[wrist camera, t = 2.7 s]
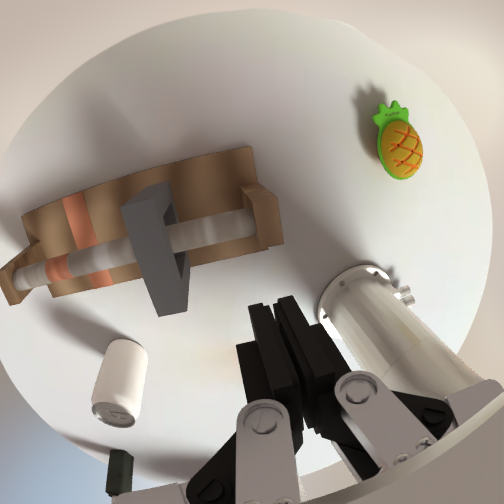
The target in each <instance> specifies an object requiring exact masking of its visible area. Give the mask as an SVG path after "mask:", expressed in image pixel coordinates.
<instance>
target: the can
mask: <svg viewBox="0 0 504 504" xmlns="http://www.w3.org/2000/svg"><path fill="white" fill-rule="evenodd" d="M147 363H148V356H147V353H146V352H145V350H144V349H143V348H142V347H141V346H140V345H139V344H137V343H136V342H134V341H131V340H128V339H118V340H114V341H113V342H111V343H110V344H109V346H108V348H107V351H106V353H105V356H104V359H103V362H102V365H101V368H100V371H99V374H98V377H97V380H96V383H95V387H94V390H93V393H92V398H91V400H92V405H93V406H92V412H93V414H94V415H95V416H96V417H97V418H98V419H99V420H100V421H102V422H103V423H105V424H108V425H110V426H113V427H118V428H128V427H131V426H133V425H134V424H135V419H136V418H137V417H138V416H139V413H140V407H141V401H142V394H143V387H144V381H145V375H146V369H147Z"/></svg>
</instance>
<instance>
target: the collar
mask: <svg viewBox="0 0 504 504" xmlns="http://www.w3.org/2000/svg"><path fill="white" fill-rule="evenodd" d="M120 209H121V212H122V216H123V219H124V222H125V226H126V229H127V232H128V235H129V239H130V242H131V245H132V248H133V251H134V254H135V257H136V259H137V262H138V265H139V268H140V271H141V273H142V276H143V279H144V282H145V284H146V287H147V289H148V292H149V295H150V297H151V300H152V302H153V305H154V307H155V309H156V312H157V314H158V317H161V316H166V315H171V314H176V313H181V312H186V311H187V306H188V292H189V279H190V267H191V262H190V259H189V255H188V252H187V250H186V251H181V252H177V253H173V251H172V247H171V244H170V240H169V237H168V233H167V230H166V226H169V225H173V224H177V223H180V222H179V218H178V214H177V211H176V207H175V203H174V199H173V194H172V190H171V186H170V182H169V181H166V182H162V183H158V184H154V185H151V186H147V187H145V188H144V189H143V190H141V191H140V192H139V193H137V194H136V195H135V196H134V197H132V198H131V199H130V200H129V201H127V202H126V203H125V204H124V205H122V206H121V207H120Z"/></svg>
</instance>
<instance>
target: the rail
mask: <svg viewBox="0 0 504 504" xmlns="http://www.w3.org/2000/svg"><path fill="white" fill-rule="evenodd" d="M166 181H169V182H170V186H171V190H172V194H173V199H174V203H175V207H176V211H177V214H178V218H179V222H180V223H177V224H173V225H169V226H166V230H167V233H168V237H169V240H170V244H171V247H172V251H173V253H177V252H181V251H186V250H187V252H188V255H189V259H190V262H191V267H193V266H197V265H202V264H206V263H211V262H215V261H220V260H224V259H228V258H233V257H237V256H242V255H246V254H251V253H255V252H259V251H264V250H268V247H271V246H276V245H280V244H284V242H283V234H282V227H281V220H280V213H279V207H278V200H277V197H276V196H275V195H273V194H272V193H271V192H269V191H268V190H267V189H266V188H264V187H263V186H262V185H260V184H259V183H258V182H257V177H256V172H255V166H254V160H253V155H252V149H251V146H249V147H243V148H238V149H232V150H227V151H222V152H217V153H213V154H208V155H203V156H199V157H195V158H190V159H186V160H182V161H178V162H174V163H170V164H166V165H163V166H159V167H155V168H152V169H148V170H144V171H141V172H138V173H134V174H131V175H128V176H124V177H121V178H118V179H115V180H112V181H109V182H106V183H103V184H100V185H97V186H94V187H91V188H88V189H86V190H83V191H80V192H78V193H75V194H72V195H70V196H67V197H64V198H62V199H59V200H57V201H54V202H52V203H50V204H47V205H45V206H42V207H40V208H38V209H36V210H33V211H31V212H29V213H27V214H24V215H23V216H21V218H22V221H23V224H24V227H25V230H26V233H27V236H28V239H29V242H30V246H28V247H27V248H26V249H25V250H23V251H22V252H21V253H19V254H18V255H17V256H16V257H14V258H13V259H12V260H11V261H9V262H8V263H7V264H6V265H4V266H3V267H2V268H1V269H0V287H1V289H2V291H3V293H4V295H5V297H6V299H7V301H8V303H9V305H10V306H11V305H16V304H20V303H21V302H22V301H23V299H24V298H25V297H26V296H27V295H28V294H29V293H30V292H31V290H32V289H33V288H35V287H39V286H43V285H47V286H48V288H49V290H50V292H51V294H52V297H53V298H55V297H59V296H64V295H68V294H73V293H77V292H82V291H86V290H91V289H97V288H101V287H106V286H110V285H114V284H117V283H122V282H126V281H131V280H135V279H140V278H143V276H142V273H141V271H140V268H139V265H138V262H137V259H136V257H135V254H134V251H133V248H132V245H131V242H130V239H129V235H128V232H127V229H126V226H125V222H124V219H123V216H122V212H121V209H120V207H121V206H122V205H124V204H125V203H126V202H127V201H129V200H130V199H131V198H132V197H134V196H135V195H136V194H137V193H139V192H140V191H141V190H143V189H144V188H145V187H147V186H151V185H154V184H158V183H162V182H166Z"/></svg>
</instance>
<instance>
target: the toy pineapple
mask: <svg viewBox="0 0 504 504" xmlns="http://www.w3.org/2000/svg"><path fill="white" fill-rule="evenodd" d="M408 115H409V113H408V109H407V108H401V107H400V105H399V104H398V102H397V101H395V100H394V101H392V103H391V106H390V108H387V107H386V106H385V105H384V104H379V105H378V114H375V115H373V116H372V119H373V121H374V123H375V124H376V125H377V126H378V127H379V133H378V138H377V150H378V155H379V158H380V161H381V163H382V165H383V167H384V168H385V170H386V171H387V173H388V174H389V175H390V176H392V177H393V178H395V179H398V180H403V179H407V178H409V177H411V176H412V175H413V174H414V173H415V172H416V171H417V170H418V169H419V167H420V165H421V162H422V157H423V148H422V143H421V140H420V138H419V136H418V134H417V132H416V131H415V130H414V128H413V127H412V126H411V124H409V122H408Z"/></svg>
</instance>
